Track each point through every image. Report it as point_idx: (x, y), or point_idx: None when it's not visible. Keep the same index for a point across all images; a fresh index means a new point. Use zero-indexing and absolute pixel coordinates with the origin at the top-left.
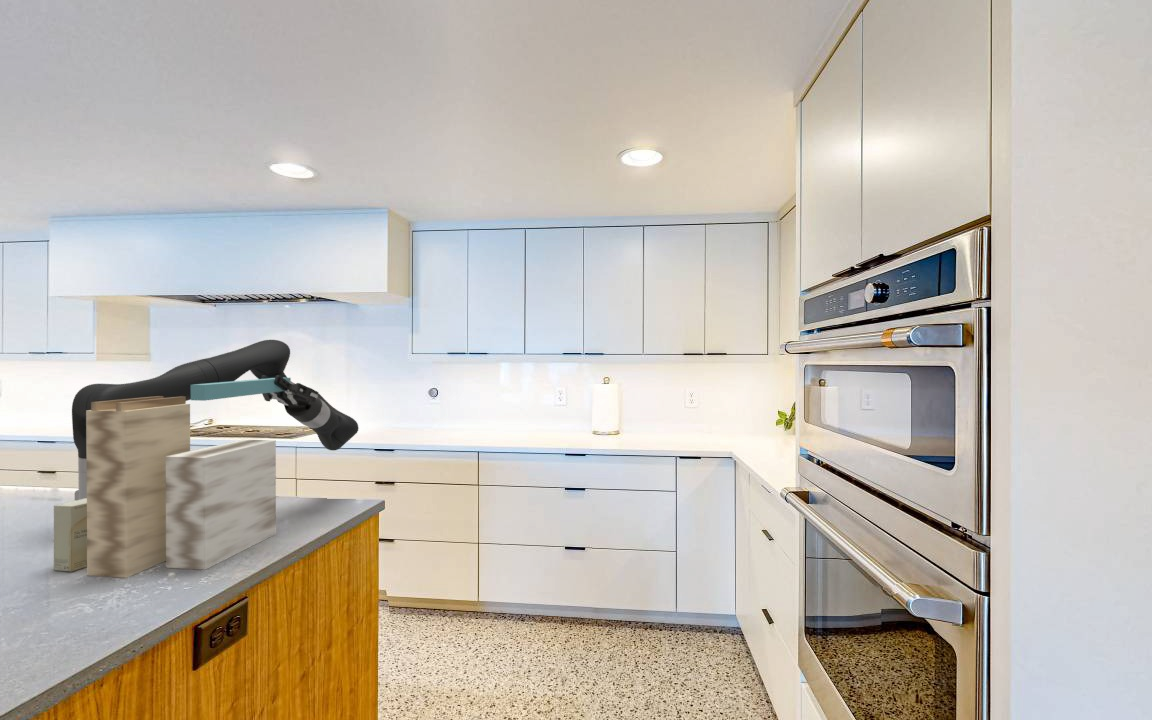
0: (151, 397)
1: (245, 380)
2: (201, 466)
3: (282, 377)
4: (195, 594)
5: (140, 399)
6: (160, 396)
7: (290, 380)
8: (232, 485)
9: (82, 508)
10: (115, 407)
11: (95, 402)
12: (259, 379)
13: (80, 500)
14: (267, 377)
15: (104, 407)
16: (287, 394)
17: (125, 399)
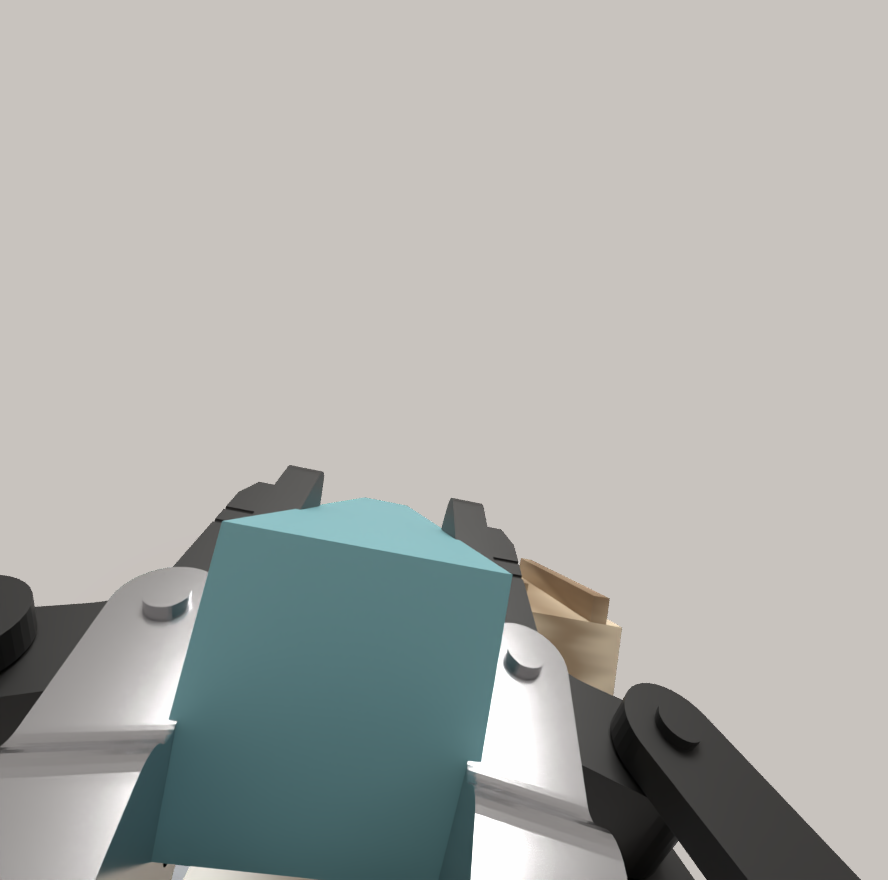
0: (572, 585)
1: (408, 513)
2: None
3: (273, 488)
4: (181, 872)
5: (558, 581)
6: (588, 593)
7: (204, 587)
8: None
9: None
10: (531, 580)
11: (522, 558)
12: (401, 516)
13: None
14: (449, 523)
15: (524, 573)
16: (170, 864)
17: (549, 571)
